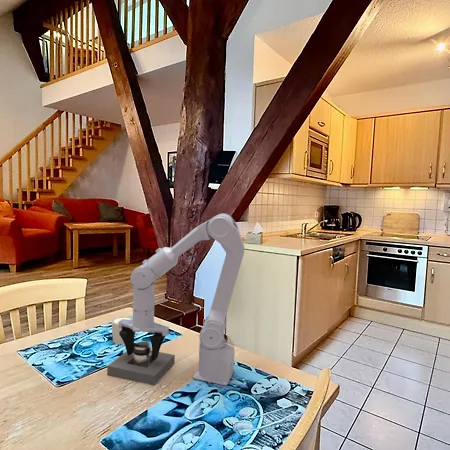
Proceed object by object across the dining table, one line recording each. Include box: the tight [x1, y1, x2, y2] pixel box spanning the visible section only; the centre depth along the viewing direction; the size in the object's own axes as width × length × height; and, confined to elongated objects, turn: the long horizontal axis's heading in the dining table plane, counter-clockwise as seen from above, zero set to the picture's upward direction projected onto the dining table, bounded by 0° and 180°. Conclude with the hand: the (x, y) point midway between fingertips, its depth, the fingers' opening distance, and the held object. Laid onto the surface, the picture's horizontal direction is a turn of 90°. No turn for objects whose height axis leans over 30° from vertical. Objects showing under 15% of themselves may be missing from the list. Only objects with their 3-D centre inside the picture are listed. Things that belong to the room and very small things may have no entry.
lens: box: [133, 341, 152, 368], centre depth 93 cm, size 4×4×7 cm
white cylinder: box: [111, 316, 133, 346], centre depth 110 cm, size 7×7×7 cm
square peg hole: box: [106, 349, 176, 386], centre depth 93 cm, size 14×12×2 cm
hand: (142, 356), depth 93 cm, fingers open, 7 cm apart
